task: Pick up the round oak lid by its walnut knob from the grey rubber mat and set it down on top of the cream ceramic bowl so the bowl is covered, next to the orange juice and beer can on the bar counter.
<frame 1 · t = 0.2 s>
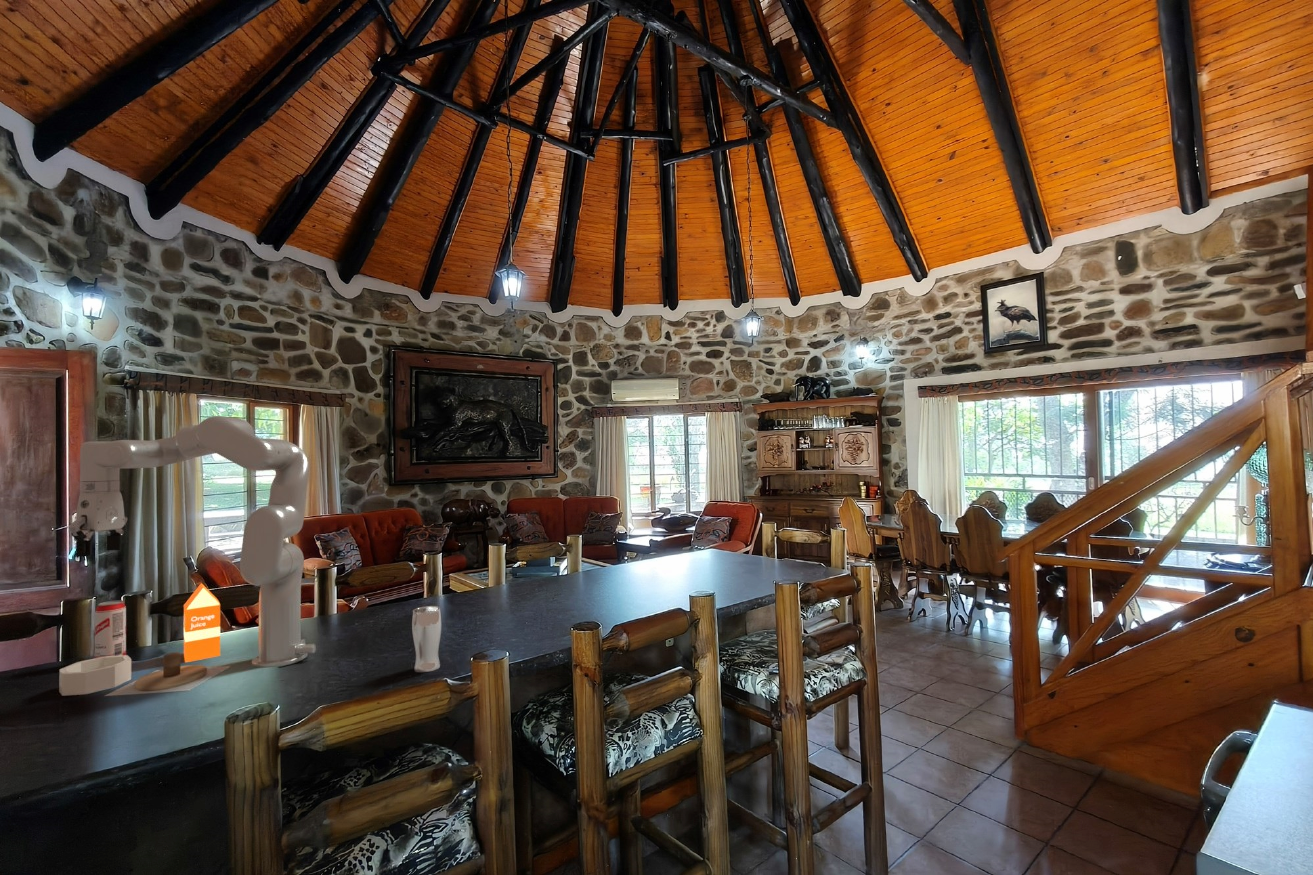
hand: (99, 553, 152), 31 cm above the counter, tool pointing down, fingers open, 9 cm apart
orange juice: (202, 657, 160), on the counter
mat: (171, 682, 142), on the counter
beer glass: (427, 668, 148), on the counter
lid: (171, 679, 142), point 1 cm above the counter, touching mat
bowl: (96, 686, 140), on the counter
beer can: (110, 661, 159), on the counter
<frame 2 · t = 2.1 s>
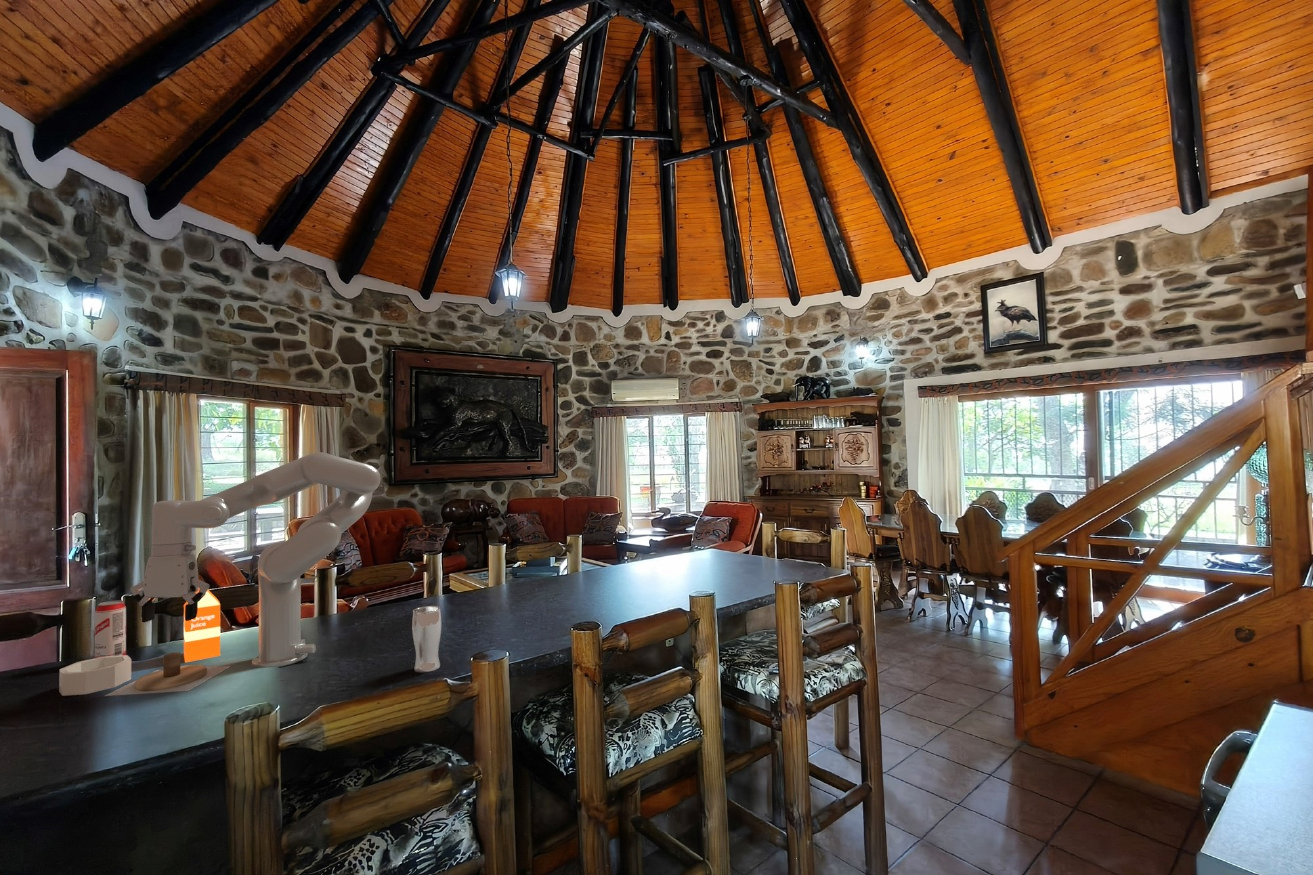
hand: (169, 620, 142), 15 cm above the counter, tool pointing down, fingers open, 9 cm apart
nothing on the counter moved.
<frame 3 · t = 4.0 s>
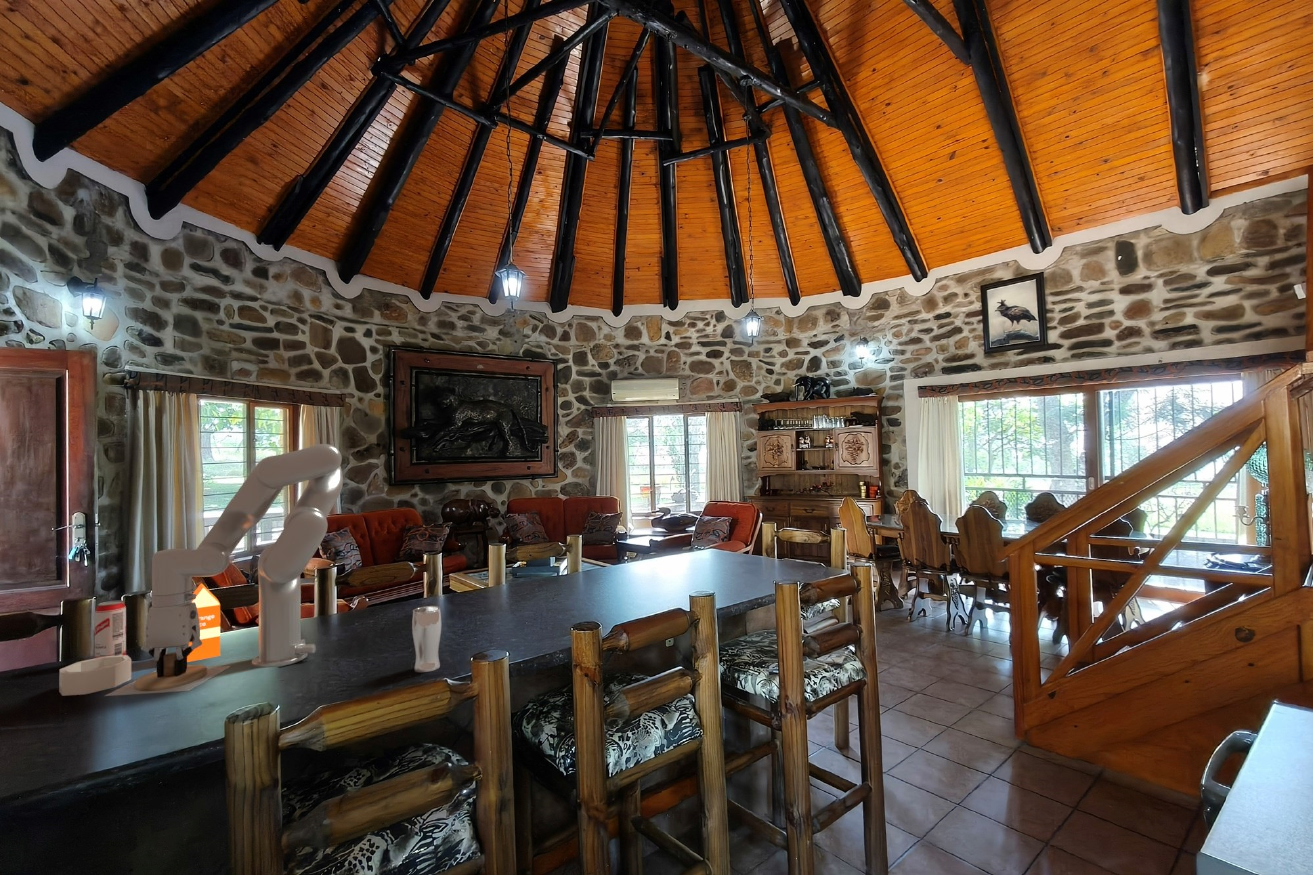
hand: (171, 674, 142), 2 cm above the counter, tool pointing down, fingers closed on lid, 3 cm apart
lid: (171, 679, 142), point 1 cm above the counter, touching gripper, mat
everything else where it was.
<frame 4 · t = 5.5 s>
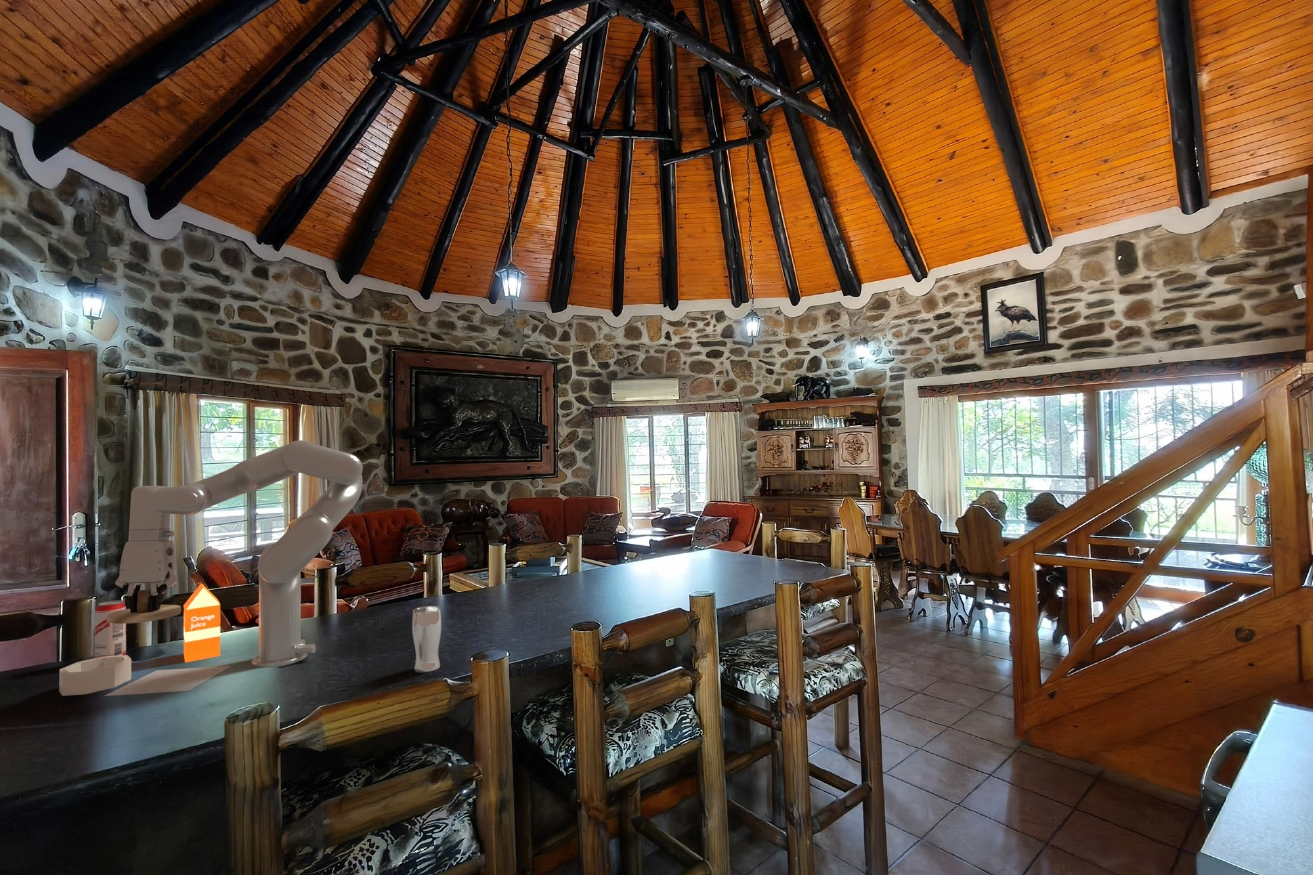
hand: (145, 610, 141), 18 cm above the counter, tool pointing down, fingers closed on lid, 3 cm apart
lid: (145, 616, 141), point 17 cm above the counter, touching gripper
everything else where it was.
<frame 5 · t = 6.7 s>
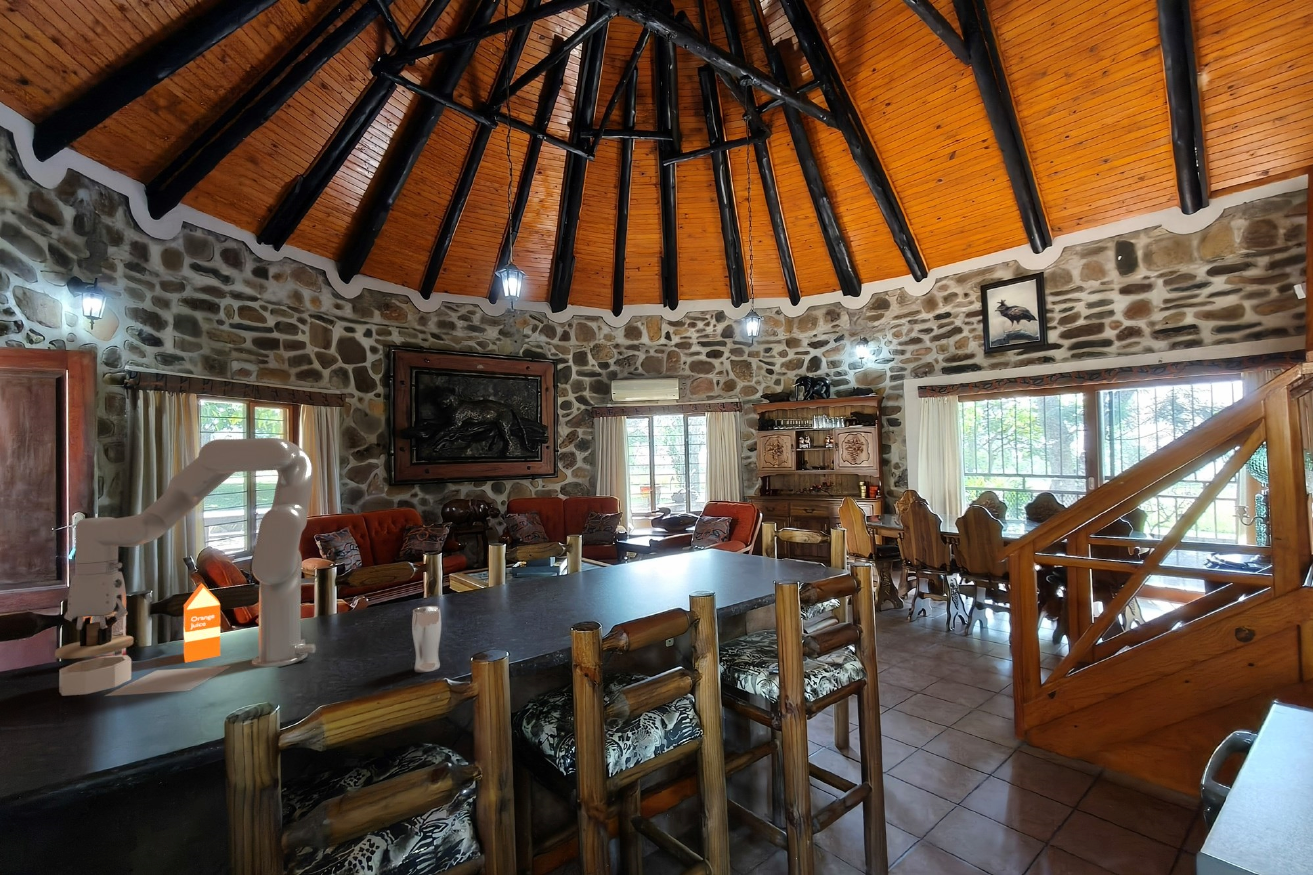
hand: (95, 643, 140), 10 cm above the counter, tool pointing down, fingers closed on lid, 3 cm apart
lid: (95, 649, 140), point 9 cm above the counter, touching gripper
everything else where it was.
when the fingers open (8 cm above the counter, at t = 7.3 s): lid drops 1 cm, resting on bowl.
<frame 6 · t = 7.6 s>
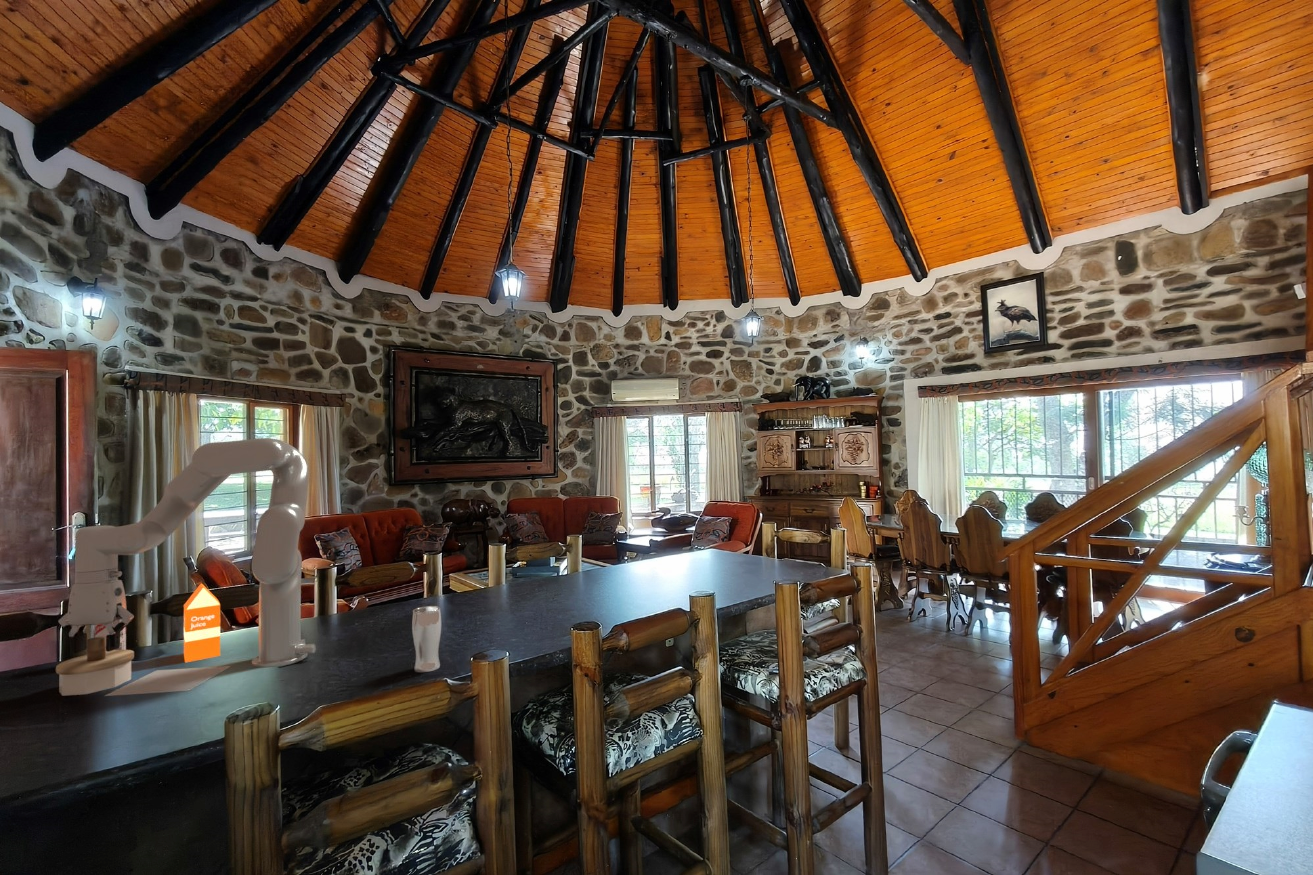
hand: (96, 649, 140), 9 cm above the counter, tool pointing down, fingers open, 6 cm apart
lid: (96, 664, 140), point 5 cm above the counter, touching bowl
everything else where it was.
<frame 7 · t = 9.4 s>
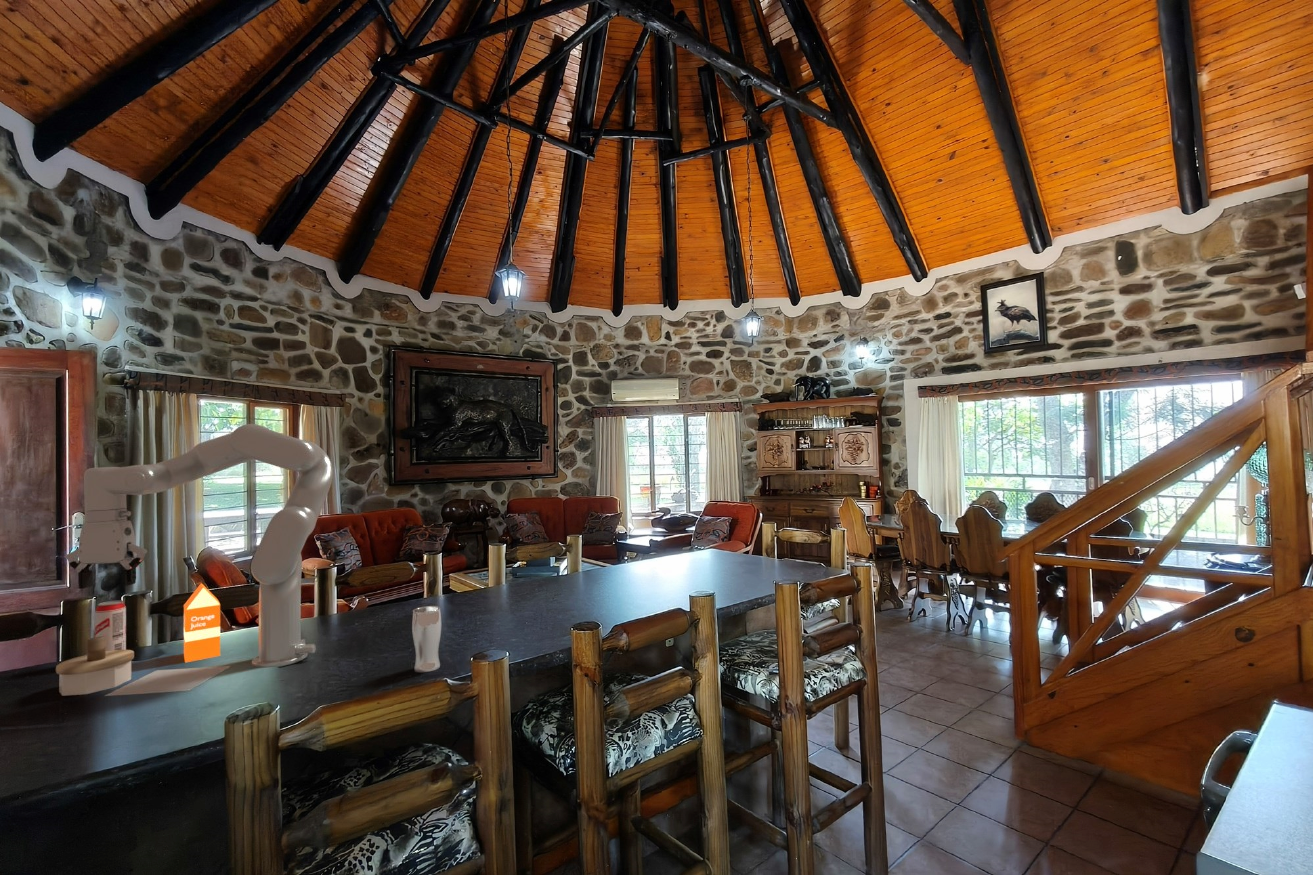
hand: (107, 586, 142), 24 cm above the counter, tool pointing down, fingers open, 9 cm apart
nothing on the counter moved.
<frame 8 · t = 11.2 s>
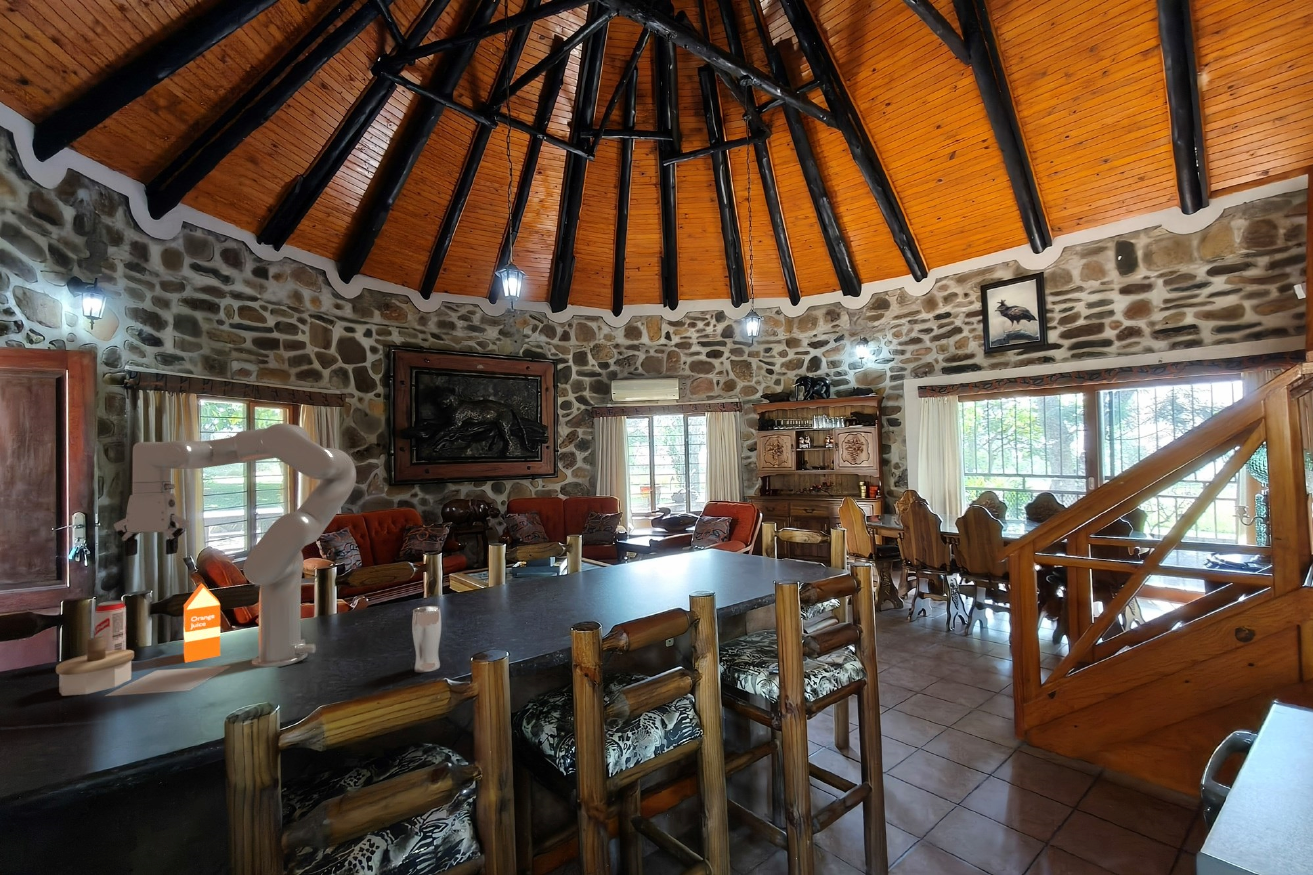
hand: (151, 554, 151), 30 cm above the counter, tool pointing down, fingers open, 9 cm apart
nothing on the counter moved.
at the end: lid 0.1 cm off-centre on the bowl, point 5.5 cm above the bowl's base; lid tilted 0°; the gripper is holding nothing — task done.
